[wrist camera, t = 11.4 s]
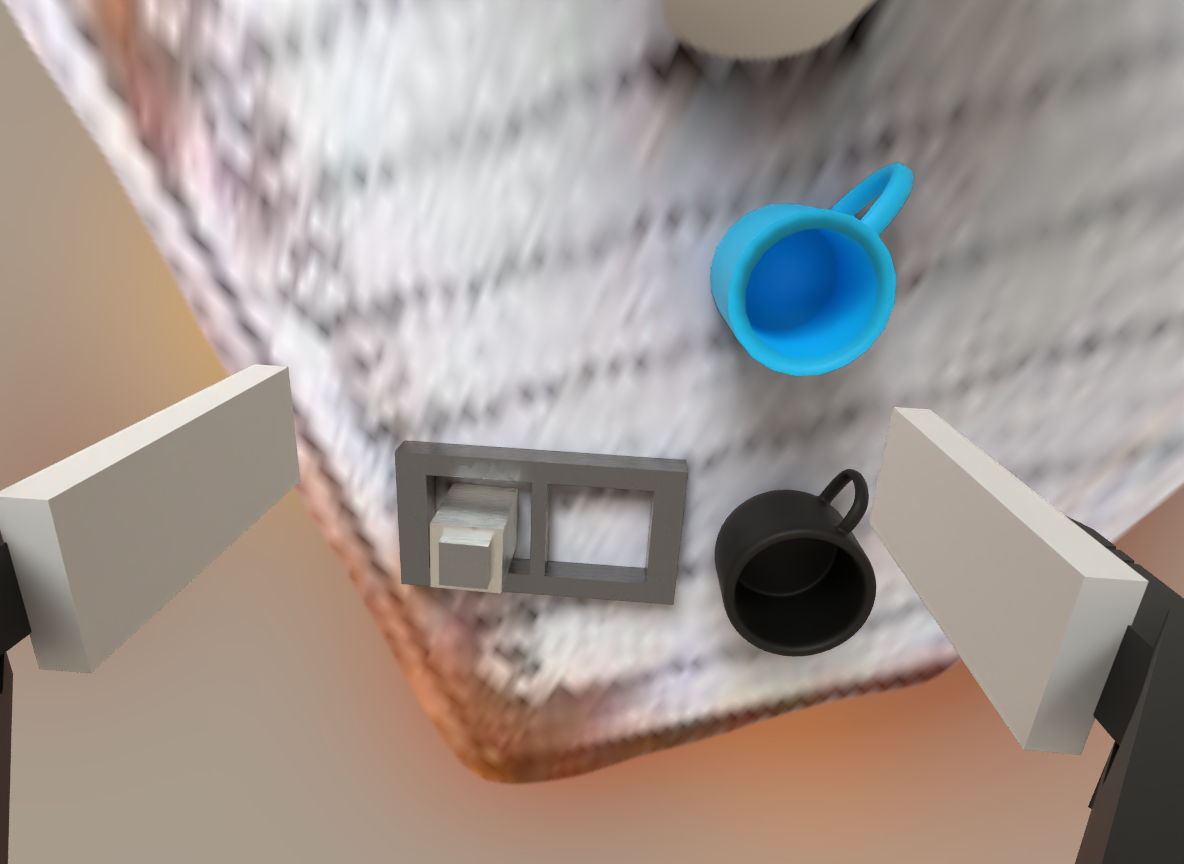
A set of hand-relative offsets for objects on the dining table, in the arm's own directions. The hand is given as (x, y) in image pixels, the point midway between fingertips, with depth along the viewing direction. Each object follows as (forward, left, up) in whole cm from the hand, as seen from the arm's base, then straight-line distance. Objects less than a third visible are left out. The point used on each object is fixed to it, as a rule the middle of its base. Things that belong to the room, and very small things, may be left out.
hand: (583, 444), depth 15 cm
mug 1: (-2, +11, -29) cm, 31 cm away
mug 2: (+16, +13, -29) cm, 36 cm away
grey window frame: (+17, -4, -29) cm, 34 cm away
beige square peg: (+17, -8, -29) cm, 34 cm away
